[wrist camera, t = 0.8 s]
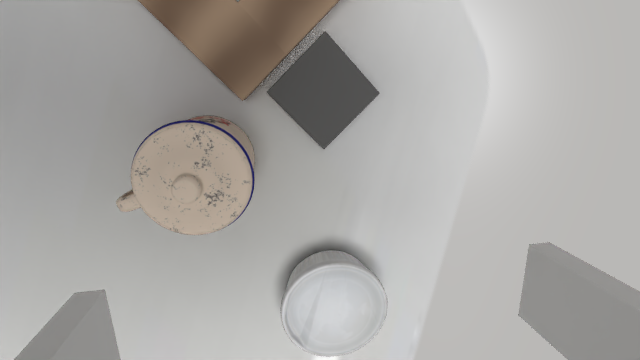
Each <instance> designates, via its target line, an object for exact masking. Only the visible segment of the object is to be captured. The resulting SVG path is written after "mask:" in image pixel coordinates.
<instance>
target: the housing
mask: <svg viewBox="0 0 640 360" xmlns="http://www.w3.org/2000/svg"><path fill="white" fill-rule="evenodd" d="M138 1H139V2H140V3H141V4H142V5H143V6H144V7H145V8H146V9H147V10H148V11H150V12H151V13H152V14H153V15H154V16H155V17H156V18H157V19H158V20H159V21H160V22H161V23H162V24H163V25H164V26H165V27H166V28H167V29H168V30H169V31H170V32H171V33H172V34H173V35H174V36H175V37H177V38H178V39H179V40H180V41H181V42H182V43H183V44H184V45H185V46H186V47H187V48H188V49H189V50H190V51H191V52H192V53H193V54H194V55H195V56H196V57H197V58H198V59H199V60H200V61H201V62H202V63H204V64H205V65H206V66H207V67H208V68H209V69H210V70H211V71H212V72H213V73H214V74H215V75H216V76H217V77H218V78H219V79H220V80H221V81H222V82H223V83H224V84H225V85H226V86H227V87H228V88H229V89H231V90H232V91H233V92H234V93H235V94H236V95H237V96H238V97H239V98H240V99H241V100H242V101H243V100H245V99H246V98H247V97H248V96H249V95H250V94H251V93H252V92H253V91H254V90H255V89H256V88H257V87H258V86H259V85H260V84H261V83H262V81H263V80H264V79H265V78H266V77H267V76H268V75H269V74H270V73H271V72H272V71H273V70H274V69H275V68H276V67H277V66H278V65H279V64H280V63H281V62H282V60H283V59H284V58H285V57H286V56H287V55H288V54H289V53H290V52H291V51H292V50H293V49H294V48H295V47H296V46H297V45H298V44H299V43H300V42H301V41H302V40H303V38H304V37H305V36H306V35H307V34H308V33H309V32H310V31H311V30H312V29H313V28H314V27H315V26H316V25H317V24H318V23H319V22H320V21H321V20H322V19H323V17H324V16H325V15H326V14H327V13H328V12H329V11H330V10H331V9H332V8H333V7H334V6H335V5H336V4H337V3H338V2H339V1H340V0H239V2H237V1H236V0H138Z"/></svg>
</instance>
